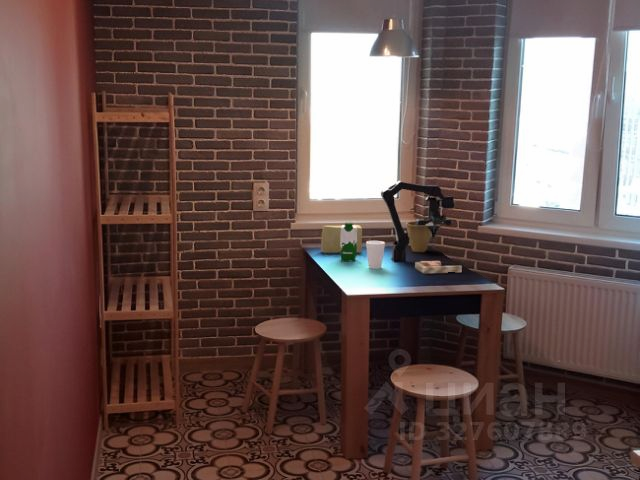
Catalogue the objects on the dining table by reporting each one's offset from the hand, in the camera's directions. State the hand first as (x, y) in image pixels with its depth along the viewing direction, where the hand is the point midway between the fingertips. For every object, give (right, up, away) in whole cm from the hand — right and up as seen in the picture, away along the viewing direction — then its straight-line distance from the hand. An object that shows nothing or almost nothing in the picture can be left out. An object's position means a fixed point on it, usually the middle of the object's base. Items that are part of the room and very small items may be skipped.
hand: (432, 238), depth 411 cm
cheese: (-48, -8, +22) cm, 54 cm away
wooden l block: (-1, -16, -21) cm, 26 cm away
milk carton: (-45, -12, +2) cm, 46 cm away
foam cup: (-32, -15, -17) cm, 39 cm away
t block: (-3, -16, -21) cm, 27 cm away
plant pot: (-4, -8, +27) cm, 28 cm away
